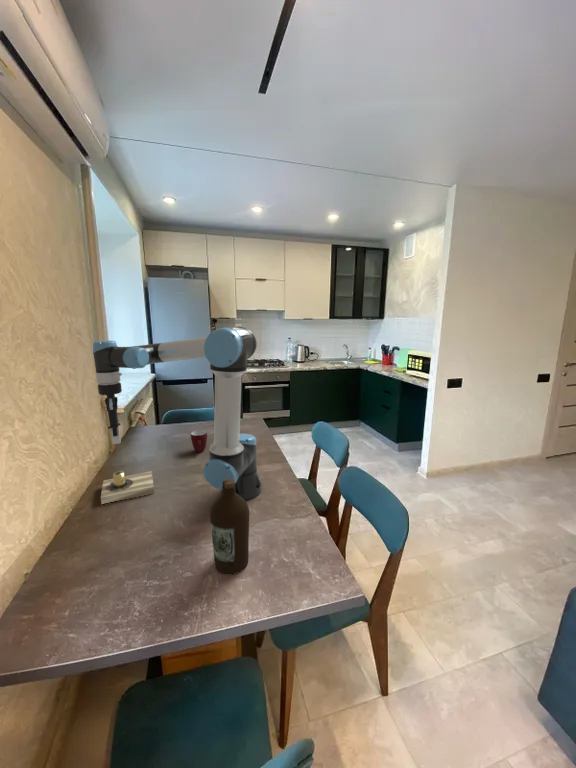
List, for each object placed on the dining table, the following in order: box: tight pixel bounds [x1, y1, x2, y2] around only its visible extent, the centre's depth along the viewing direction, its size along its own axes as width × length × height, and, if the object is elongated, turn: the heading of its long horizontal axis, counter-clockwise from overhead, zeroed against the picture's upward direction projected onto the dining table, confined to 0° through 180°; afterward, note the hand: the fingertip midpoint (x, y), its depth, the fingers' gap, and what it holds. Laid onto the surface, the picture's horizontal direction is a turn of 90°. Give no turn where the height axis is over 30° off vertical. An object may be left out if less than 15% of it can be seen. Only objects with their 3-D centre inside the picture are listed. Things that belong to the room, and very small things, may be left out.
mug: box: [190, 429, 208, 453], centre depth 160 cm, size 10×8×10 cm
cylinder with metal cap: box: [112, 470, 126, 489], centre depth 123 cm, size 4×4×8 cm
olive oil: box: [209, 479, 250, 575], centre depth 86 cm, size 11×11×25 cm
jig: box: [100, 471, 155, 505], centre depth 125 cm, size 14×18×3 cm
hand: (116, 443), depth 120 cm, fingers closed
